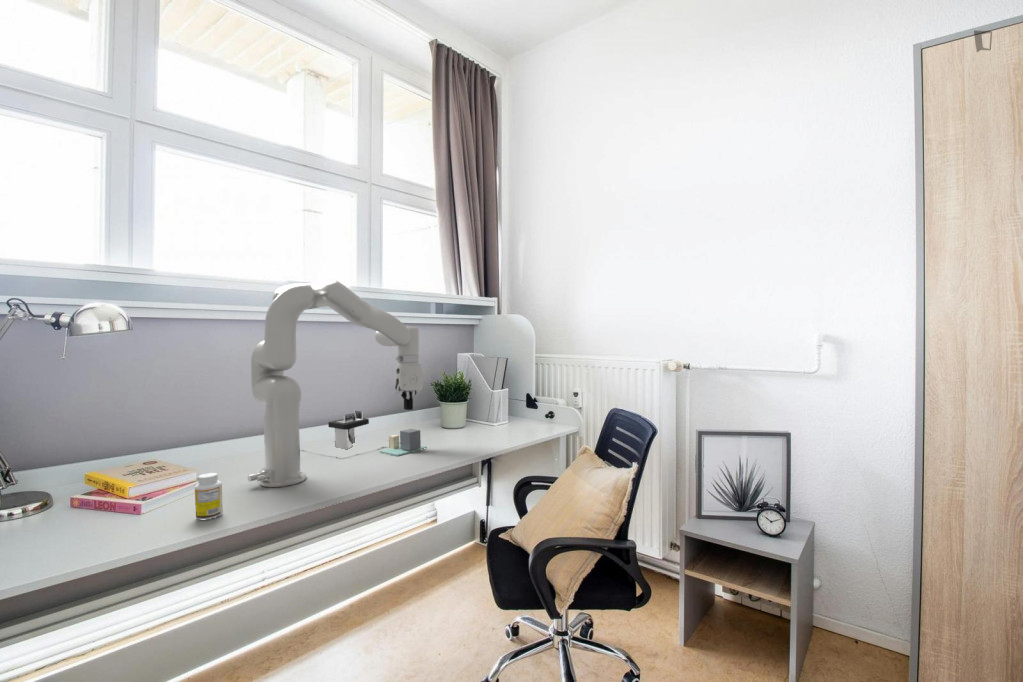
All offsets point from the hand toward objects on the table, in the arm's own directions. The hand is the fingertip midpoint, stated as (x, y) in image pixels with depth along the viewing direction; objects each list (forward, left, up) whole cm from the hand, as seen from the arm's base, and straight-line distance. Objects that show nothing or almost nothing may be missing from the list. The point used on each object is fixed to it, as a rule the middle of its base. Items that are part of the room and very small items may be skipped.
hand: (408, 409), depth 178 cm
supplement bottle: (-70, -9, -16) cm, 73 cm away
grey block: (+1, 0, -15) cm, 15 cm away
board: (0, +3, -16) cm, 16 cm away
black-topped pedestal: (-8, +25, -16) cm, 31 cm away
